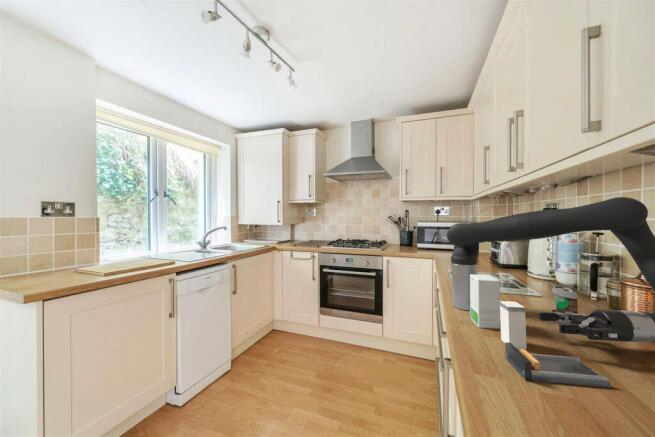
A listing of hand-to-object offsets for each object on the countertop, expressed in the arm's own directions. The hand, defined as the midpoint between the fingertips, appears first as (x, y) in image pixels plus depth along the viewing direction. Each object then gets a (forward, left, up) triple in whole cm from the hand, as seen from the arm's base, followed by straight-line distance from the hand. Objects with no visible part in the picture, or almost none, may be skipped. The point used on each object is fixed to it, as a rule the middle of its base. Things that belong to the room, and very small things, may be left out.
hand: (549, 322), depth 69 cm
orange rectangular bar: (+13, -11, -5) cm, 18 cm away
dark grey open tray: (+13, -7, -7) cm, 16 cm away
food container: (-25, +18, -7) cm, 32 cm away
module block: (0, -9, -7) cm, 11 cm away
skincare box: (-14, -11, -7) cm, 19 cm away
